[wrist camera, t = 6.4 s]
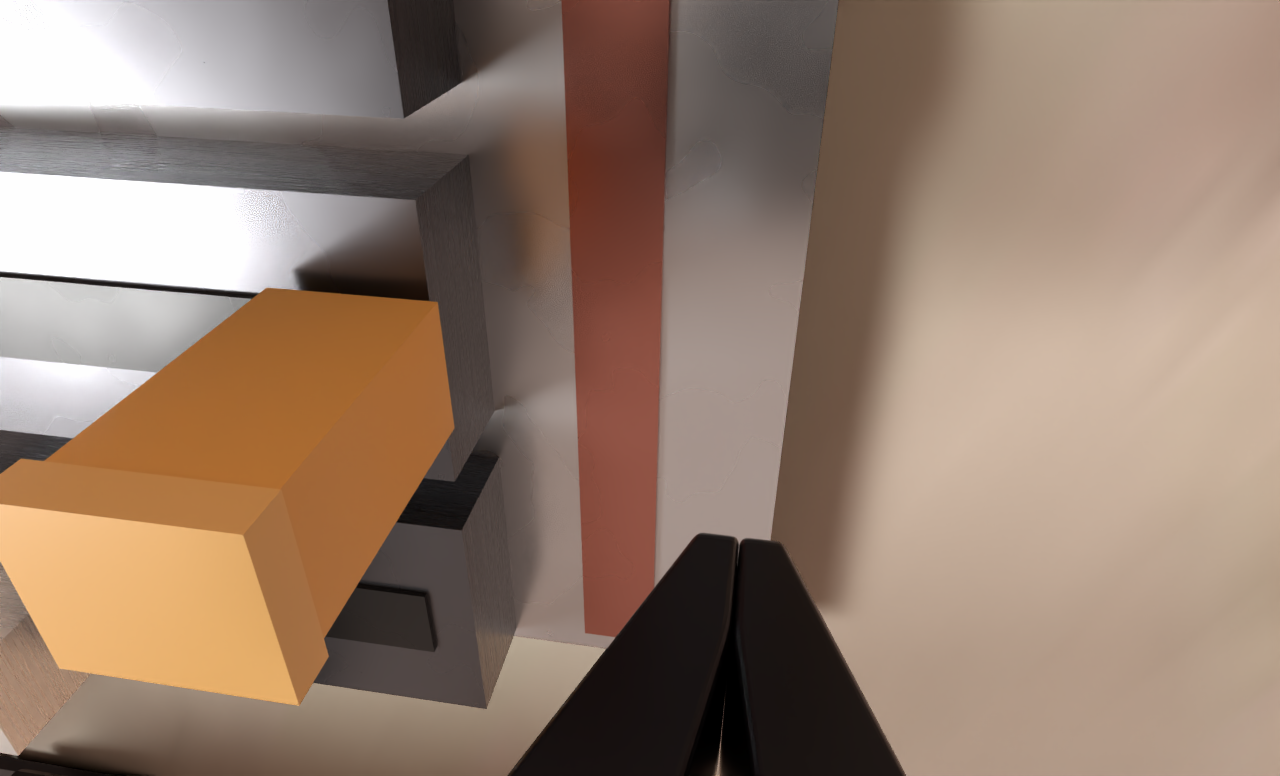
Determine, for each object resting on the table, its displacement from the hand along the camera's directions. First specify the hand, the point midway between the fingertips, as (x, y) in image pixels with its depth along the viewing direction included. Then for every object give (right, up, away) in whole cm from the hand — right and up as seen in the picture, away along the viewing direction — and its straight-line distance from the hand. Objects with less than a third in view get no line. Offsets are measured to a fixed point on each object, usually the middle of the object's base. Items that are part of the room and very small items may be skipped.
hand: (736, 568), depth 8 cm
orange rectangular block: (-5, +2, +3) cm, 6 cm away
